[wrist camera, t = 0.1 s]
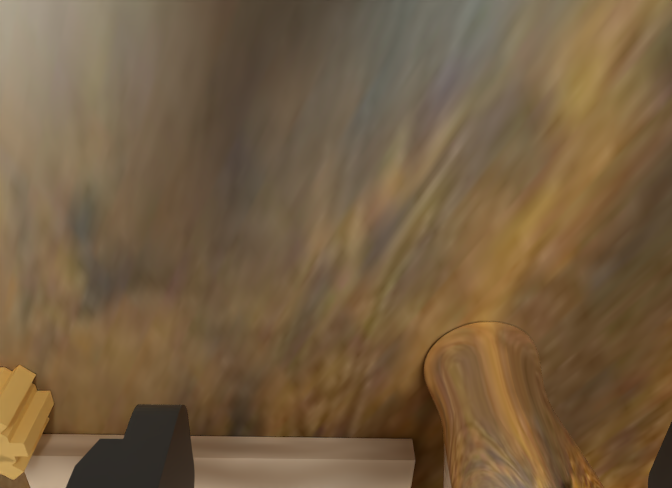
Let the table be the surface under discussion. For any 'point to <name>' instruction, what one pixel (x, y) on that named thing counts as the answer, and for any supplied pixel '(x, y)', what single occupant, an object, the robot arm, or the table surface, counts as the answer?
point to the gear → (20, 419)
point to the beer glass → (499, 413)
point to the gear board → (253, 461)
